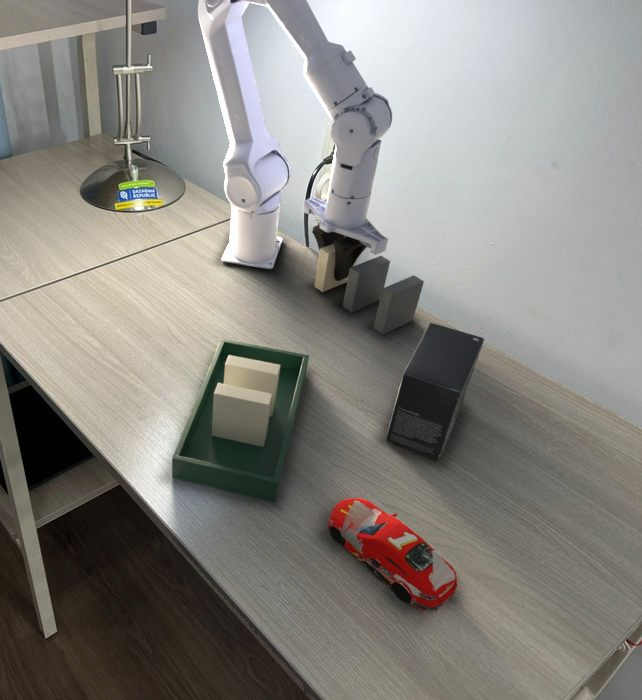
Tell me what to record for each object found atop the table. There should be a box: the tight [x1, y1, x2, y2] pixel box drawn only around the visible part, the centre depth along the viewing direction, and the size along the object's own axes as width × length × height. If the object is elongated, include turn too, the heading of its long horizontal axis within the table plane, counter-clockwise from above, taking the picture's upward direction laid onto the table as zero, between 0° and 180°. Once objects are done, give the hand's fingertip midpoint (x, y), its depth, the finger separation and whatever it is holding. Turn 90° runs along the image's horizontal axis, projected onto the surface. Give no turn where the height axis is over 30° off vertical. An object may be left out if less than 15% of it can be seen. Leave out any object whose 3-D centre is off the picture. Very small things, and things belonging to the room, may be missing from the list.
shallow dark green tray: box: [171, 338, 310, 503], centre depth 80 cm, size 21×11×3 cm, turn 163°
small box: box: [385, 322, 485, 461], centre depth 77 cm, size 11×6×10 cm, turn 149°
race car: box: [327, 497, 458, 612], centre depth 65 cm, size 13×5×4 cm, turn 37°
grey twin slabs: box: [342, 255, 425, 335], centre depth 95 cm, size 8×6×6 cm
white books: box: [212, 355, 281, 447], centre depth 78 cm, size 7×6×6 cm
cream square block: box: [313, 244, 356, 293], centre depth 101 cm, size 2×6×6 cm, turn 123°
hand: (334, 274), depth 102 cm, fingers closed
